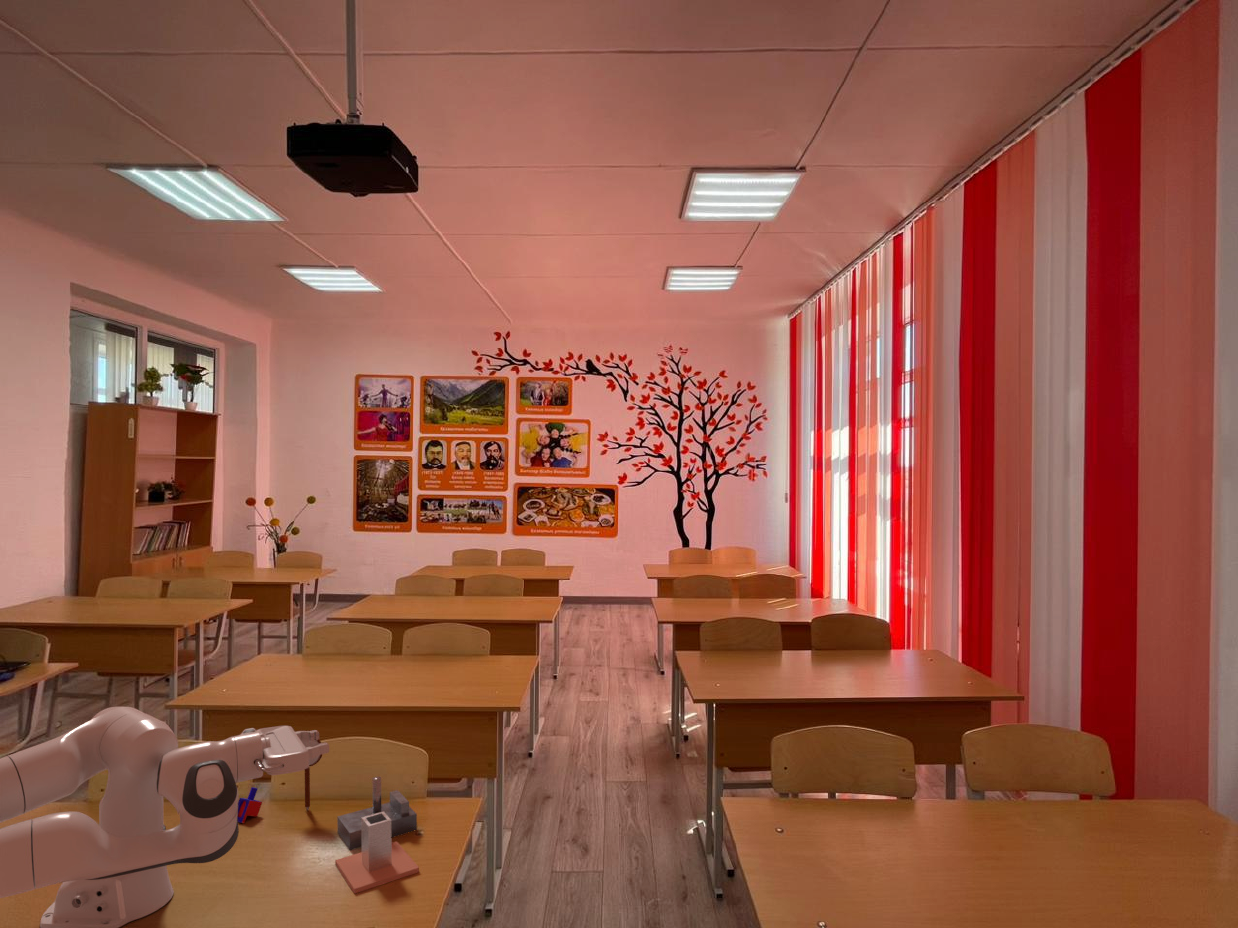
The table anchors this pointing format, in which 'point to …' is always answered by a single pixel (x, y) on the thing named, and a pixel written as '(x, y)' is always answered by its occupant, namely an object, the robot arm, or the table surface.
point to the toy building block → (248, 806)
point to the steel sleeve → (376, 841)
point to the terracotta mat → (365, 880)
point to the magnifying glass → (307, 771)
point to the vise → (395, 810)
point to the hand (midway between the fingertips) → (323, 740)
